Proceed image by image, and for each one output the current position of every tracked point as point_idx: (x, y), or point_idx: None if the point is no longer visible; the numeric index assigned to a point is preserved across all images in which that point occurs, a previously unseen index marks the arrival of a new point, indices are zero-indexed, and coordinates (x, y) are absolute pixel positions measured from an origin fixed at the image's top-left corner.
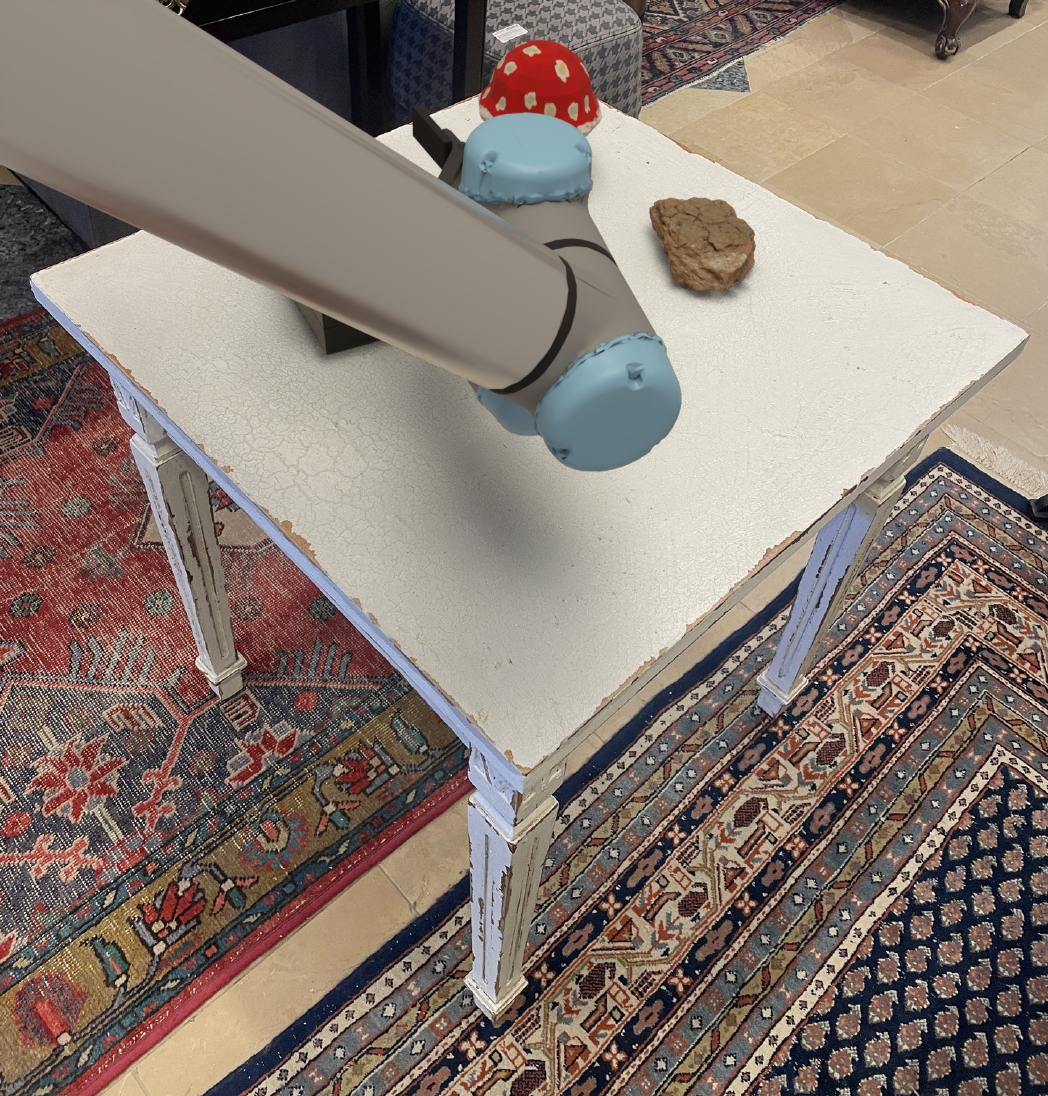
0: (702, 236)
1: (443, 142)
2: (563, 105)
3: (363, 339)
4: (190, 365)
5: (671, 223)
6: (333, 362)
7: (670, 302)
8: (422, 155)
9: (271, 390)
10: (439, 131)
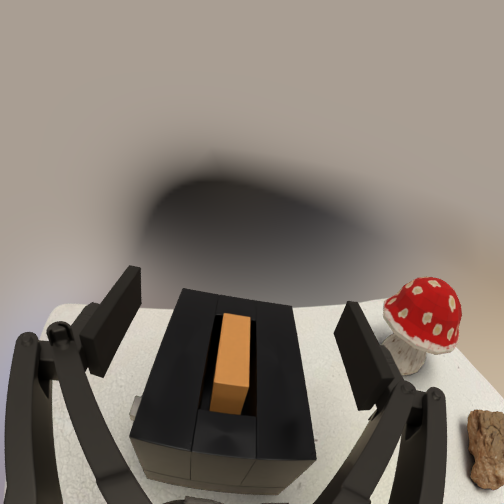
0: (502, 450)
1: (380, 377)
2: (447, 328)
3: (186, 485)
4: (52, 412)
5: (487, 435)
6: (146, 489)
7: (463, 496)
8: (331, 323)
9: (78, 478)
10: (377, 352)
